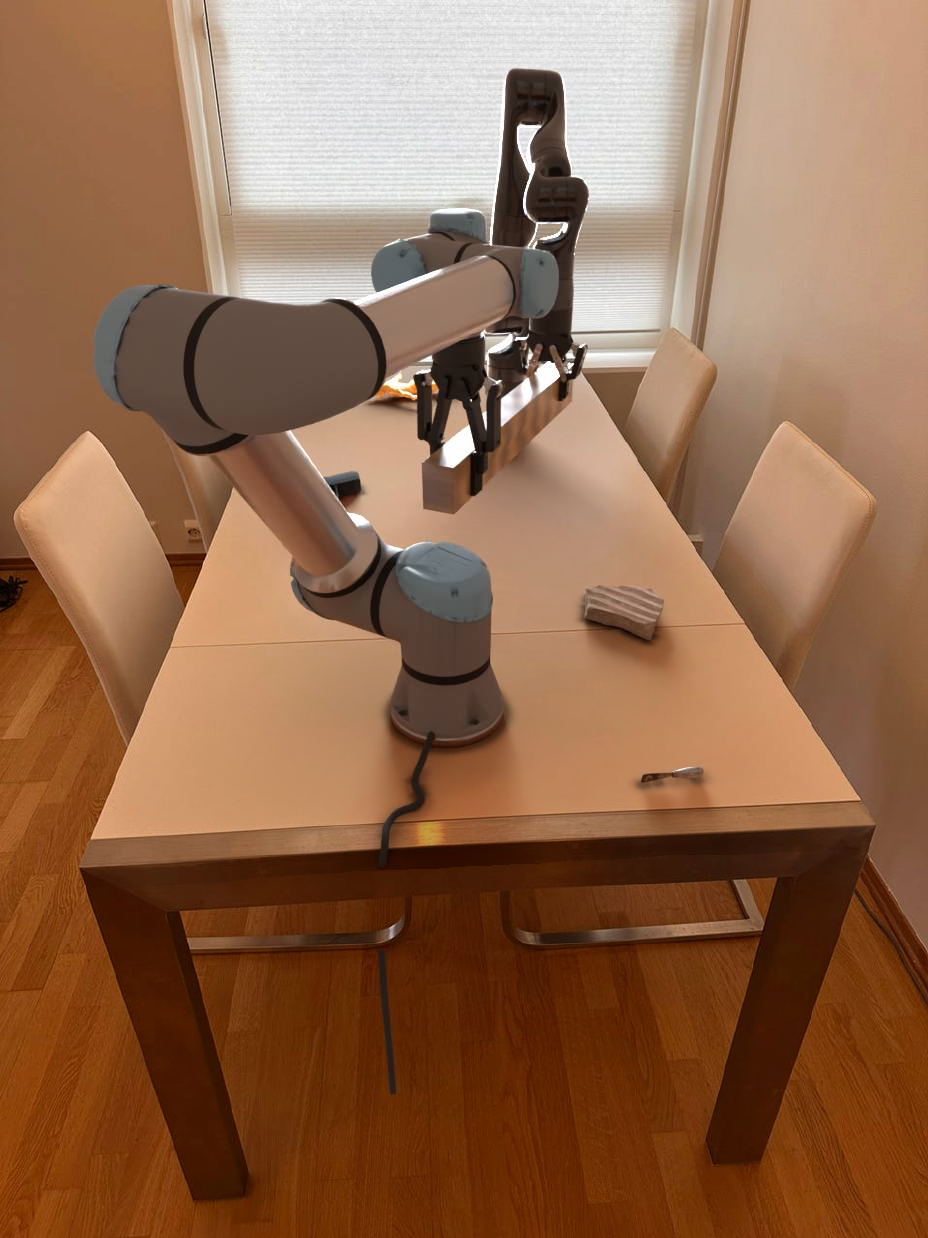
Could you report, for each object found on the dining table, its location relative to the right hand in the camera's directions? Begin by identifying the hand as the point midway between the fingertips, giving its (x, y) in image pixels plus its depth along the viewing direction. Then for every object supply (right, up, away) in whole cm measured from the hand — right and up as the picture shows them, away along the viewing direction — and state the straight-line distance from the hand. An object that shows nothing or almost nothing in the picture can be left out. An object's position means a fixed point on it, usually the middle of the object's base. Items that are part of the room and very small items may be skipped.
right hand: (547, 397), depth 165 cm
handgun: (-41, -18, +14) cm, 47 cm away
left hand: (-16, -21, -30) cm, 40 cm away
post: (-8, -12, -14) cm, 20 cm away
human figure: (-27, +19, +72) cm, 79 cm away
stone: (+10, -41, -23) cm, 48 cm away
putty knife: (+10, -61, -55) cm, 83 cm away
